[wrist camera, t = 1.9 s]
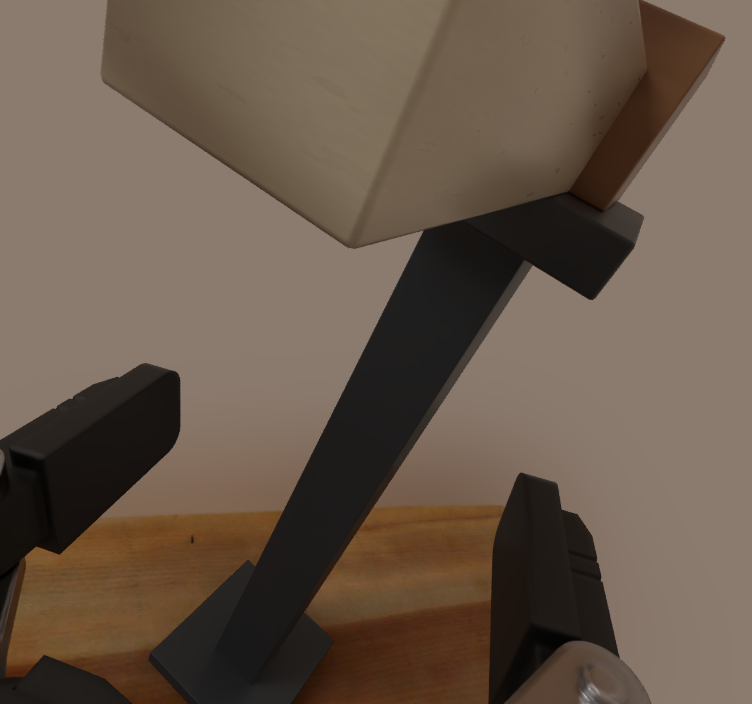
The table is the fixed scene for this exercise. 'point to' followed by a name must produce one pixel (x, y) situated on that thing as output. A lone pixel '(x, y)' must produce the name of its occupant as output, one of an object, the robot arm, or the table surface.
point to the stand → (381, 436)
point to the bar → (412, 98)
